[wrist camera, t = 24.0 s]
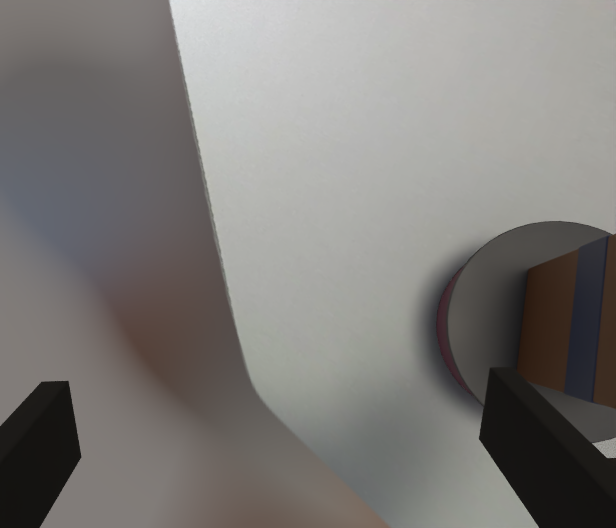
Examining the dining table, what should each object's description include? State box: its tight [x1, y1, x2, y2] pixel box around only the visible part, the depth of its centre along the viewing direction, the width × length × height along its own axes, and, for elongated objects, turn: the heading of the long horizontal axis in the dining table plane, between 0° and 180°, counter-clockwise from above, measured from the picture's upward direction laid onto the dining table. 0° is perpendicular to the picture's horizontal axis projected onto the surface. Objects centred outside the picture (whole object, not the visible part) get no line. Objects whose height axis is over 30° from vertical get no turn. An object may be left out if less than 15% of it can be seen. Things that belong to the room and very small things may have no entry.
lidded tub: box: [436, 221, 616, 443], centre depth 28 cm, size 13×13×6 cm
